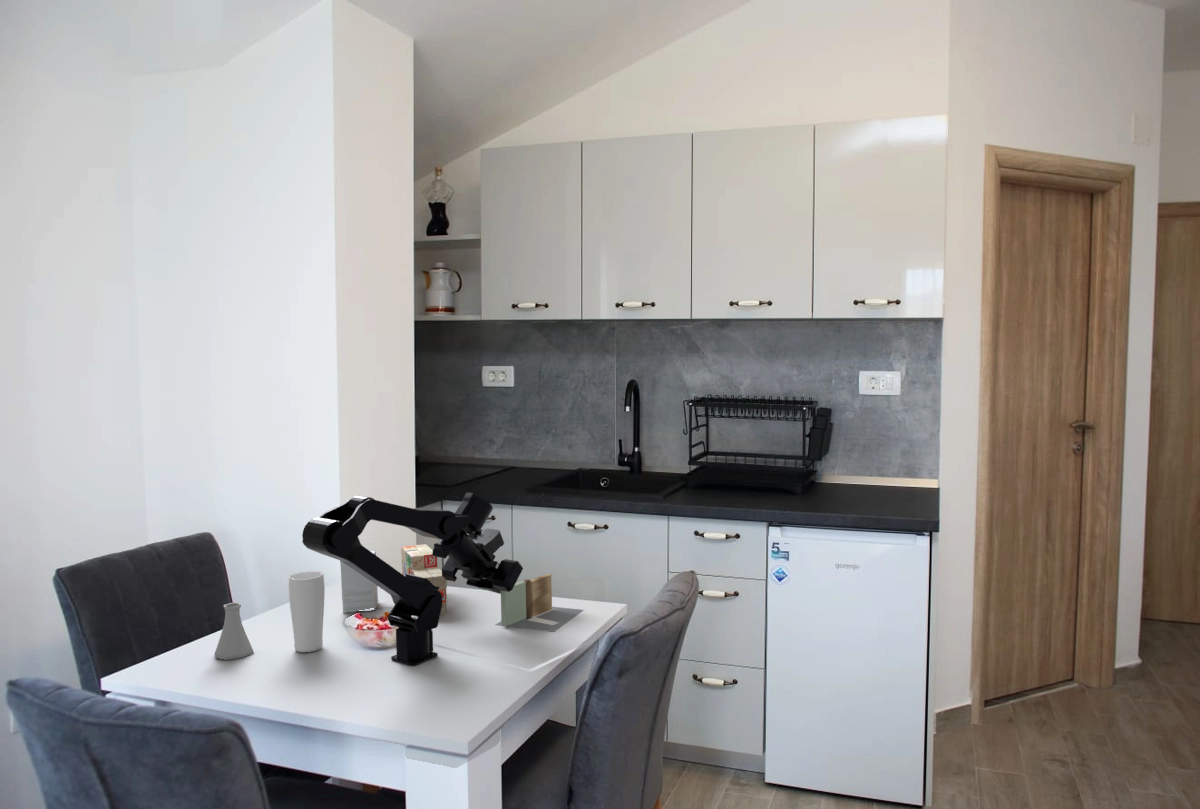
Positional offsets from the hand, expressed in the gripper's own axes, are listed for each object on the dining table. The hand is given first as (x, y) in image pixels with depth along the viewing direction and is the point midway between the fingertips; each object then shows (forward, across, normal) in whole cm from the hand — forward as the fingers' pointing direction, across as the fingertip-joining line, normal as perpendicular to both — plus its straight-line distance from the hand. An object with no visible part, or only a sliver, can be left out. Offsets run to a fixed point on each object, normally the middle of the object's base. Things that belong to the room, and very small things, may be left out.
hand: (500, 591), depth 183 cm
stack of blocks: (+6, +26, +4) cm, 27 cm away
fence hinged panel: (+5, -3, +4) cm, 7 cm away
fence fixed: (+11, -3, -1) cm, 12 cm away
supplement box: (0, +36, +11) cm, 38 cm away
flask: (-24, +33, +35) cm, 54 cm away
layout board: (+10, -5, 0) cm, 11 cm away
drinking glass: (-18, +23, +28) cm, 40 cm away
